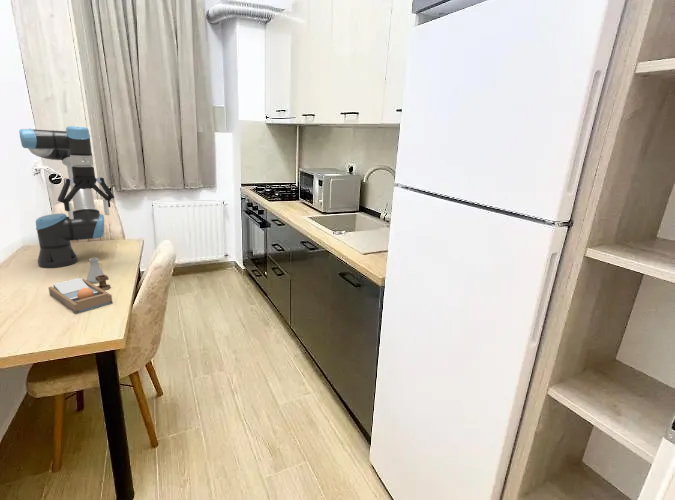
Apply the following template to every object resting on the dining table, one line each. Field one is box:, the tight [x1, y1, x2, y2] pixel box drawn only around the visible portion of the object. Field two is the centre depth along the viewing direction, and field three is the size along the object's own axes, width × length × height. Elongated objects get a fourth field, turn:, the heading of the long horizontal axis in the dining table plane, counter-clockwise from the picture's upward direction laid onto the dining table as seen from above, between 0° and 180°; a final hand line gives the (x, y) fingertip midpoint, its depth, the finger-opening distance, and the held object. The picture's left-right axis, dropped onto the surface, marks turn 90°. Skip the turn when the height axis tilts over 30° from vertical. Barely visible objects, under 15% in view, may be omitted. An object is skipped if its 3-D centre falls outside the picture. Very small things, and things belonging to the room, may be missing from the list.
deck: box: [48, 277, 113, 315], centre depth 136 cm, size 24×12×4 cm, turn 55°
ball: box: [77, 288, 94, 300], centre depth 133 cm, size 5×5×5 cm
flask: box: [85, 257, 105, 284], centre depth 154 cm, size 7×7×10 cm
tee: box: [95, 274, 111, 291], centre depth 147 cm, size 5×5×5 cm
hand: (89, 216), depth 153 cm, fingers open, 13 cm apart
